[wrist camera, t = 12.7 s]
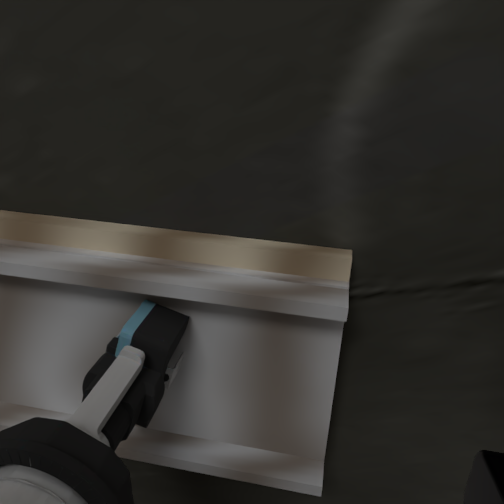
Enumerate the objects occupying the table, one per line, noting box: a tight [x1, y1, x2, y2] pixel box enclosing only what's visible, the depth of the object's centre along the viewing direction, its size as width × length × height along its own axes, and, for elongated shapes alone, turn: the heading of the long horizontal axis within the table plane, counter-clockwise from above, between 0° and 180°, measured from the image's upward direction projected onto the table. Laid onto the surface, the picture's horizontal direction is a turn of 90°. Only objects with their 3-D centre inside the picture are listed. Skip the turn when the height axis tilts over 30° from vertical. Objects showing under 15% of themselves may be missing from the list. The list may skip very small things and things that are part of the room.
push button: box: [0, 299, 189, 504], centre depth 17 cm, size 7×5×10 cm
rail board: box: [0, 210, 352, 497], centre depth 22 cm, size 18×12×3 cm, turn 87°
